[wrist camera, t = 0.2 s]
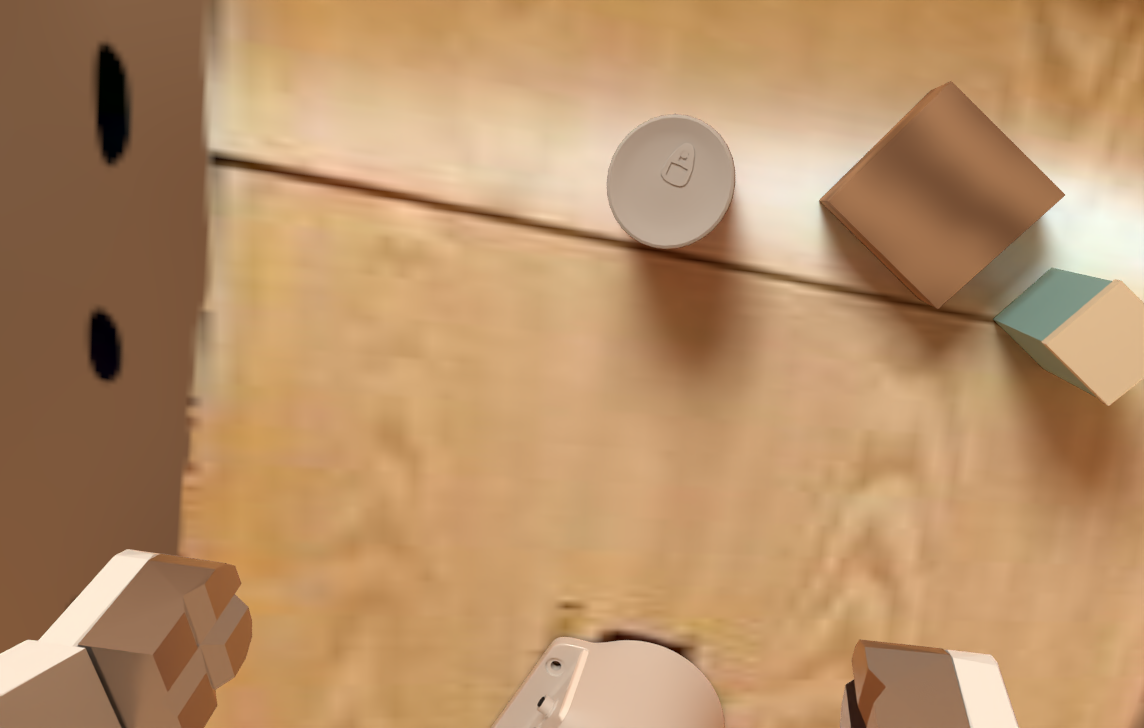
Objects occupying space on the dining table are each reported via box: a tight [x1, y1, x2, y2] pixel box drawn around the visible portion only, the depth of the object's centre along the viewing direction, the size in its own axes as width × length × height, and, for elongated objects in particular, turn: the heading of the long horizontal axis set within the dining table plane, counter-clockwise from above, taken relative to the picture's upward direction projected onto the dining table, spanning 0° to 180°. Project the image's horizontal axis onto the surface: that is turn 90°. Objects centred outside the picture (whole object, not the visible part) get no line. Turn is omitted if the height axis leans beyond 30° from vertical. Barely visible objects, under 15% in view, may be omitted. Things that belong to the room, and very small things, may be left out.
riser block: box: [819, 81, 1065, 309], centre depth 55 cm, size 10×10×5 cm
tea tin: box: [993, 268, 1144, 406], centre depth 53 cm, size 5×5×10 cm
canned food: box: [607, 114, 735, 249], centre depth 55 cm, size 8×8×11 cm
